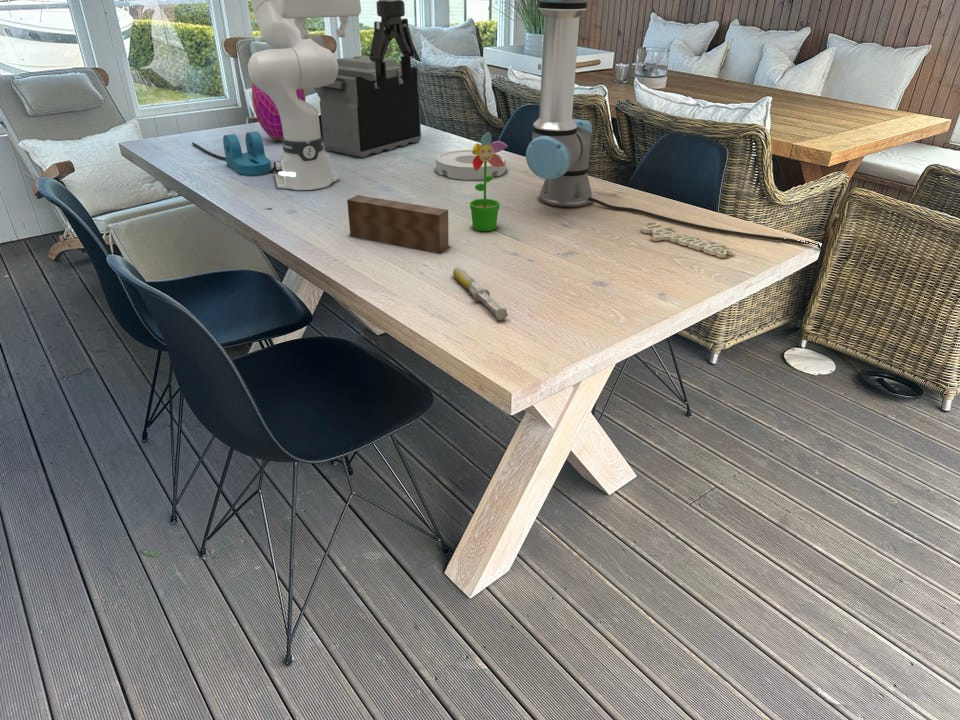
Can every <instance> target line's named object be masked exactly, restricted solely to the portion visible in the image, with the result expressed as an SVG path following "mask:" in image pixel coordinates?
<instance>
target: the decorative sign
mask: <svg viewBox="0 0 960 720" xmlns="http://www.w3.org/2000/svg"><path fill="white" fill-rule="evenodd" d="M673 229H674V228H673V226H669V225H668V226H662V225H661V223H660V222H656V221H648V222H647V225H645V226H642V230H641V232H642V233H643V234H651V235H652V239H651V240H652V241H654V242H659V241H668V242H671V243H677V244H678V245H681V246H684V247H688V248H689V249H694V250H696V251H702V252H703V253H705V254H708V255H711V256H715V257H717V258H721V259H725V258H727V256H732V255H733V250H732V249H729V248H726V243H716V240H703V241H702V240H701V239H700V237H697V236H696V235H691V234H688V233H685V234H681V233H680V234H679V233H678V232H674V231H673Z"/></svg>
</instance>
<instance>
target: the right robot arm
mask: <svg viewBox="0 0 960 720" xmlns="http://www.w3.org/2000/svg"><path fill="white" fill-rule="evenodd" d="M405 7H406V6H405V1H404V0H377V1H376V15H377V17H380V21H378V20H377V21H376V20H374V22H373V35H372V41H371V46H370V51H369V52H370V54H369V57H370V60H371V61H372V62H375V69H376V80H377V87H379V88H387V84H386V66H385V62H383V60H384V58H385V57H386V54H387V51H388V48H389V45H390V42H391V41H392V40H393V39H394V40H395V42H396V44H397V46H398V48H399V50H400V52H401V54H402V55H401V56H400V64H401V67H402V81H411V67H412V60H411V57H415V52H416V49H415V46H414V42H413V39H412V34H411V31H410V28H409V20H408V18H404V16H406V9H405ZM587 7H588V0H538V10H539V11H540V12H541V14H542V15H543V18H544V19H543V38H542V55H541V56H542V58H541V77H540V93H539V94H540V95H539V96H540V97H539V114H538V116H539V117H538V118H537V119H536V120H535V121H534V122H533V125H532V137H531V139H532V140H531V141H530V142H529V143H528V146H527V148H526V151H525V160H526V161H525V162H526V164H527V166H528V169H530V171H531V172H532V173H533V174H534V175H535V176H536V177H538V178H541V179H543V180H544V181H543V184H542V187H541V189H540V192H539V200H540V202H542V203H543V204H546V205H549V206H553V207H558V208H559V207H560V208H580V207H584V206H588V205H589V204H591V203H596V204H598V205H600V206H602V207H605V208H608V209H612V210H617V211H626V212H633V213H639V214H642V215H646V216H649V217H653V218H656V219H660V220H663V221H667V222H671V223H675V224H678V225H681V226H682V225H683V226H687V227H690V228H691V227H692V228H696V229H701V230H704V231H705V230H706V231H710V232H715V233H716V232H717V233H722V234H728V235H735V236H741V237H747V238H756V239H762V240H769V241H778V242H779V241H780V242H787V243H793V244H799V245H810V246H815V245H818V246H815V247H817V248H818V249H819V250H820V251H821V252H822V253H827V250H826V248H825V247H824V246H823V245H822V244H821V247H820V245H819V244H820V243H819V242H817V241H813V240H811V241H812V242H815V243H818V244H815V243H812V242H809V241H810V240H804V241H805V243H804V242H801V241H803V240H802V239H799V240H800V241H797V240H798V239H796V240H795V238H788V237H781V236H772V235H765V234H757V233H749V232H742V231H737V230H731V229H730V230H729V229H723V228H718V227H712V226H707V225H702V224H698V223H692V222H688V221H683V220H679V219H676V218H671V217H667V216H665V215H660V214H657V213H653V212H651V211H650V212H649V211H646V210H643V209H639V208H633V207H626V206H617V205H612V204H608V203H606V202H604V201H602V200H599V199H596V198H594V197H593V193H592V188H591V184H590V179H589V165H590V153H591V142H592V136H593V135H592V134H593V132H592V130H593V129H592V127H593V126H592V123H591V122H590V121H589V120H585V119H579V118H573V112H574V110H573V109H574V95H575V82H576V70H577V58H578V57H577V56H578V42H579V29H580V18H581V16H582V15H583V14H584V13H585V12H586V11H587ZM402 17H403V18H402ZM784 238H786V239H784ZM806 242H808V243H806ZM809 243H812V244H815V245H812V244H809Z"/></svg>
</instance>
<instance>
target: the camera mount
mask: <svg viewBox="0 0 960 720" xmlns="http://www.w3.org/2000/svg"><path fill="white" fill-rule="evenodd" d="M222 140H223V141H222V143H223V149H224V150H223V151H224V157H225V158H226V160H225V161H226V165H227V166H228V167H230V168H231V169H232V170H234V171H236V172H237V173H238V174H239V175H244V176H260V175H265V174H268V173H271V172H270V170H272V164H271V159H270V158H268V157H267V156H266V153H265V145H264V141H263V139H262V136H261V134H260V132H258V131H247V132H246V133H245V146H246V152H243V151H242V150H243V149H242V146H241V142H240V140H239V138H238V135H236V134H235V133H231V134H224V135H223V138H222Z"/></svg>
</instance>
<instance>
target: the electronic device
mask: <svg viewBox="0 0 960 720" xmlns="http://www.w3.org/2000/svg"><path fill="white" fill-rule="evenodd" d="M336 59H337V62H338V76H337V78H336V80H335V82H334V83H333V84H330V85H326V86H323V87H320V88H313V90H314V91H315V93H316V94H317V96H318V98H319V110H320V111H319V112H320V114H319V123H320V132H321V136H322V138H323V143H324V144H323V146H324V149H325V150H327V151H330V152H335V153H340V154H344V155H348V156H353V157H357V158H362V159H363V158H366V157H367V158H368V157H369V155H371V154H375V155H377V154H381V153H382V152H383V151H391V150H395V149H396V148H397V147H405V146H407V145H408V144H416V143H418V142H419V141H421V137H422V128H421V97H420V92H419V91H420V89H419V68H418V67H417V66H411V81H402V67H401V65H400V64H396V62H395V60H394V59H393V58H385V57H384V60H383V62H385V66H386V84H387V88H379V87H377V80H376V69H375V62H372V61H371V60H370V56H367V55H356V56H353V57H350V58H349V57H343V58H342V57H341V58H336Z"/></svg>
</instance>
